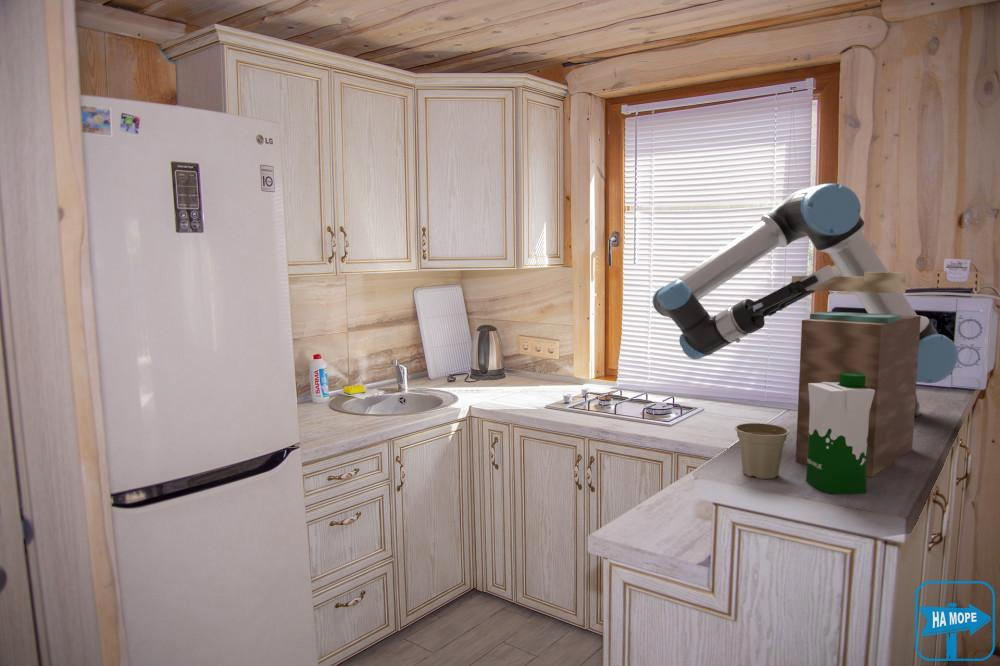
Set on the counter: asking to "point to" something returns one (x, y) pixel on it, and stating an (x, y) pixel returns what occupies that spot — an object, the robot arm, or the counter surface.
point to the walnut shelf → (881, 357)
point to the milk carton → (839, 434)
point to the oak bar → (864, 283)
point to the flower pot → (761, 448)
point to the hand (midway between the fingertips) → (835, 270)
